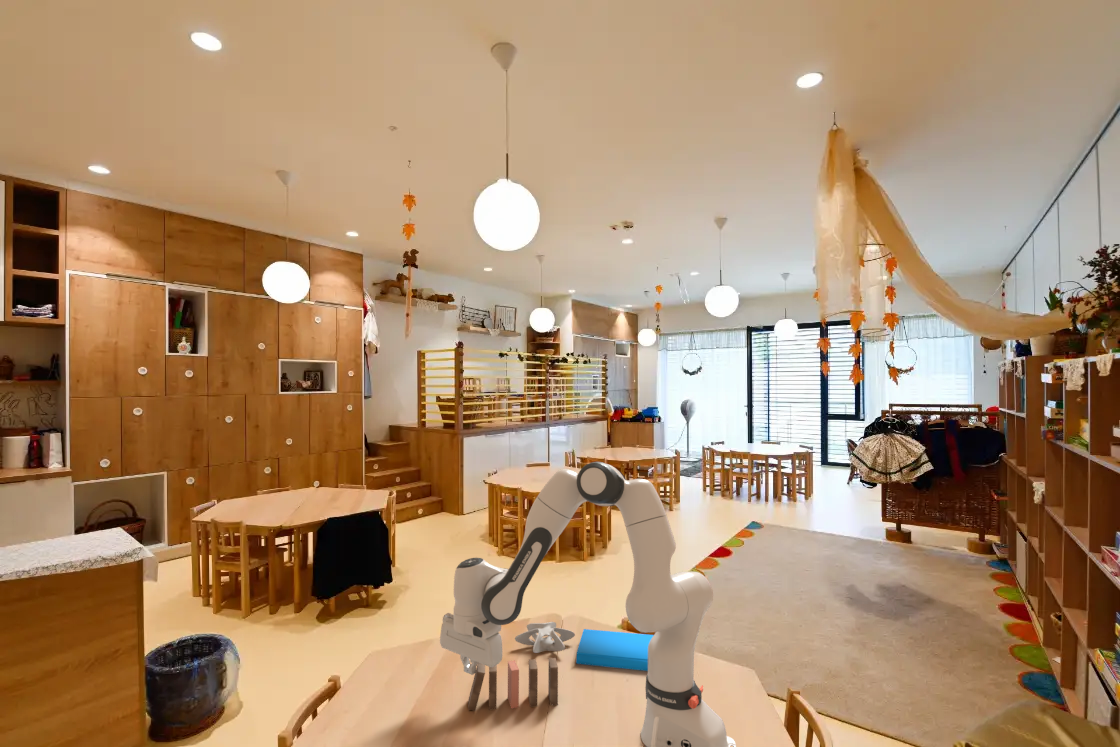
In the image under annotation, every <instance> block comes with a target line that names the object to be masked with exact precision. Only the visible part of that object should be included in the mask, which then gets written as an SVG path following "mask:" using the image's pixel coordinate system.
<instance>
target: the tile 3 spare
mask: <svg viewBox="0 0 1120 747" xmlns="http://www.w3.org/2000/svg"><path fill="white" fill-rule="evenodd" d="M507 700H508V703H509V705H510V708H511V709H518V708H520V707H519V706H520V701H519V700H520V668H519V666H518V665H517V661H516V660H508V661H507Z"/></svg>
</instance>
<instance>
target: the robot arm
mask: <svg viewBox="0 0 1120 747" xmlns="http://www.w3.org/2000/svg"><path fill="white" fill-rule="evenodd" d="M586 502H589V503H592V504H594V505H596V506H600V507H614V506H616V507H617V508H618V510H619V511H620V513H621V517H622V519H623V522H624V526H625V529H626V533H627V536H628V537H627V538H628V541H629V545H630V549H631V552H632V553H631V554H632V557H633V570H634V572H633V578H632V580H633V582H632V585H631V587H630V591H629V592H628V594H627V597H626V599H625V612H626V616H627V619H628V620H629V623H630V624H631V626H633V627H634V628H635V629H636V630H637V631H639V632H640V633H643V634H646V633H654V634H653V635H654V636H653V637H652V639H651V640H650V642H649V645H648V671H647V675H646V676H645V687H644V688H645V699H646V707H645V715H644V720H643V724H642V729H641V731H640V739H641V741H642V743H643V744H644V745H645V747H730V746H733V747H737V743H736V741H735V740H734V738H732V737H731V736H728V735H727V729H726V725H725V723H724V722H725V721H724V720H723V719H722V717H721V716H720V715H719V714H717V713H716V711H714V710H713V709H712V708H711V707H710V706H709V705H708V703H707V702H705V701H704V700H703V699H702V697H703V696H702V693H703V691H704V685H701V686H700V687H698V685H697V684H696V680H695V679H694V675H695V674H694V673H695V670H694V667H695V651H696V643H697V641H698V640H697V639H698V636H699V633H700V630H701V626H702V623H703V620H704V617H705V615H706V614H707V612H708V610H709V608H710V607H711V606H712V603H713V600H714V590H713V588H712V584H711V583H710V581H709V579H708V578H707V577H706V575H705V576H704V575H703V573H701V572H699V571H679V572H675V573H672V574H671V560H672V557H673V555H674V553H675V552H676V548H677V546H676V545H677V544H676V540H675V538H674V535H673V531H672V528H671V525H670V522H669V519H668V516H667V512H666V509H665V507H664V504H663V502H662V499H661V498H660V496H659V493H658V492H657V489H656V488H655V485H654V484H653V483H652V481H650V480H648V479H645V478H644V479H643V478H633V479H629V480H628V479H626V476H625V475H624V474H623V473H622V472H621V471H620V470H618V469H617V468H616V467H614V466H613V465H611V464H608V463H606V462H602V461H592V462H590V463H586V464H585V465H584V466H583V467H581V469H580V470H579V472H577V471H574V470H572V469H568V468H562V469H559V470H557V471H555V473H553V475H552V476H551V477H550V479H549V480H548V481H547V482H546V484H545V485H544V486H543V487H542V489H541V490H540V492H539V493H538V495H537V496H536V497H535V499H534V502H533V503H532V506H530V509H529V511H528V515H527V517H526V521H525V528H524V535H523V540H522V542H521V546H520V548H519V550H518V552H517V554H516V556H515V558H514V559H513V561H512V562H511V564H510V566H509V567H508V568H505V567H504V568H503V567H499V566H496V565H493V564H491V563H489V562H487V560H485V559H484V558H482V557H471V558H467V559H465V560H463V561H461V562H459V564H458V565H457V567H456V568H455V572H454V576H453V577H454V578H453V579H454V580H453V597H454V606H453V613H450V612H447V613H445V614H444V615H443V616H442V624H441V629H440V635H439V636H440V637H439V643H440V644H439V645H440V646H441V648H442V649H445V650H446V651H447V650H448V651H449V652H452V653H454V654H457V655H460V658H459V659H460V661H461V664H462V665H463V672H464V673H467V674H469V675H471V676H473V675H475V673H476V668H477V665H478V662H479V663H481V664H484V665H485V667H486V666H487V667H488V668H489V667H494V666H496V665H499V664H500V663H501V662H502V660H503V639H502V635H501V634H500V633H499V632H501V630H502V626H505V625H508V624H512V623H513V622H515V621H516V619H518V617H519V615H520V613H521V611H522V606H523V599H524V595H525V591H526V589H527V588H528V586H529V584H530V582H531V581H532V578H533V577H534V575H535V574H536V572H537V570H538V568H540V567H539V566H540V565H541V563H542V561H543V559H544V558H545V556H546V555H547V554H548V551H550V549H551V547H552V546H553V545H554V543H556V541H557V539H558V538H560V535H562V533H563V532H564V531H565V529H566V527H567V526H568V524H569V523H570V522H571V520H572V518H573V516H574V515H575V513H576V512H577V510H578V508H579V507H580V506H581V505H582V504H583V503H586Z"/></svg>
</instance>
